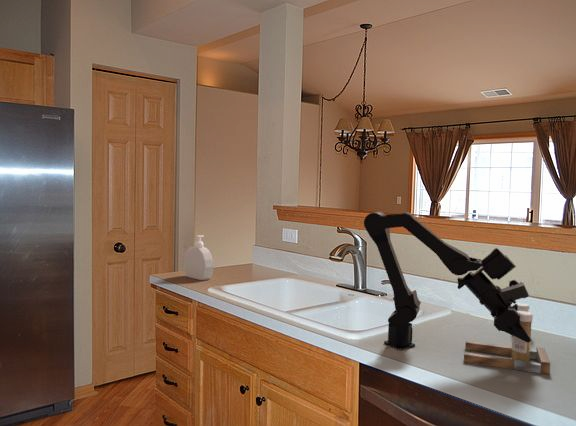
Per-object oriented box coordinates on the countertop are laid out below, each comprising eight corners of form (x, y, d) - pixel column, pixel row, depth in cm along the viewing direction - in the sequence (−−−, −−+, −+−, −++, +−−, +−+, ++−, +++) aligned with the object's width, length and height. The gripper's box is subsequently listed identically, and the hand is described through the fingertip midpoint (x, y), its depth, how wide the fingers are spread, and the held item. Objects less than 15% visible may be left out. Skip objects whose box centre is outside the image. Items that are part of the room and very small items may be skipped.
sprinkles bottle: (533, 363, 128) (536, 313, 127) (523, 367, 125) (526, 315, 124) (516, 358, 131) (519, 309, 130) (506, 361, 129) (509, 311, 128)
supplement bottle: (507, 332, 154) (508, 302, 153) (520, 331, 156) (521, 301, 155) (520, 338, 149) (522, 307, 148) (534, 336, 151) (535, 306, 150)
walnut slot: (463, 361, 128) (464, 350, 128) (465, 347, 139) (466, 337, 139) (549, 374, 120) (550, 362, 120) (544, 358, 131) (544, 347, 131)
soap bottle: (214, 279, 225) (214, 236, 223) (205, 281, 221) (205, 237, 219) (192, 274, 235) (193, 233, 234) (183, 276, 231) (184, 234, 230)
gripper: (511, 278, 119) (559, 328, 116) (508, 266, 137) (550, 309, 133) (475, 305, 123) (521, 355, 119) (476, 290, 140) (516, 334, 137)
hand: (528, 337), depth 127 cm, fingers open, 7 cm apart
